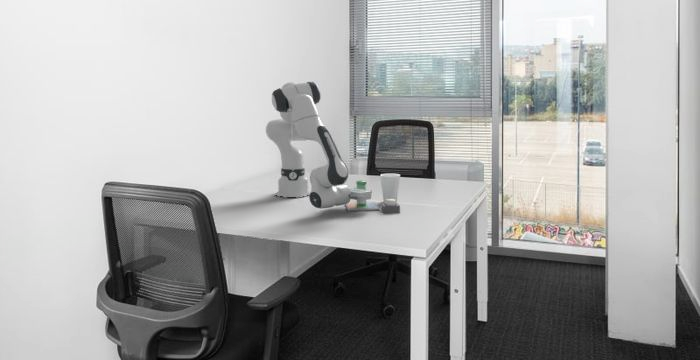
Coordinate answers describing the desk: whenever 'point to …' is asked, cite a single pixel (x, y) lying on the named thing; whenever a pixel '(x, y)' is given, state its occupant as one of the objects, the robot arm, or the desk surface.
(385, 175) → the translucent tapered cup
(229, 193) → the desk surface
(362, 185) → the green canister
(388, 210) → the button collar
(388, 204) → the button
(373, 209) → the picture board
